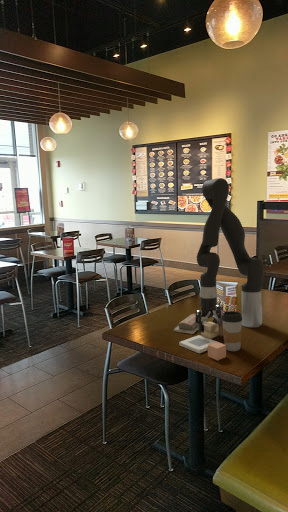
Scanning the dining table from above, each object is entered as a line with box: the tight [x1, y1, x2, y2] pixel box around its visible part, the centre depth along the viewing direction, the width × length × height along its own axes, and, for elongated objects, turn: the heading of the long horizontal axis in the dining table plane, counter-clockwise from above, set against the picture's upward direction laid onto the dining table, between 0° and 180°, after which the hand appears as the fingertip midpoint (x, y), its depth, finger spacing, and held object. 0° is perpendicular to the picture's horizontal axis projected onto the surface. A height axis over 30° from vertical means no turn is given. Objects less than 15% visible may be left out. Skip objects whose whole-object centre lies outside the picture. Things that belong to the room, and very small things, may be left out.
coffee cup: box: [221, 310, 243, 352], centre depth 157 cm, size 8×8×15 cm
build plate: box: [178, 334, 218, 354], centre depth 163 cm, size 12×12×2 cm
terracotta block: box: [207, 341, 227, 361], centre depth 150 cm, size 5×5×5 cm
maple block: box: [200, 321, 219, 340], centre depth 173 cm, size 6×6×6 cm
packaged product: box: [173, 313, 208, 335], centre depth 186 cm, size 18×5×10 cm
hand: (208, 330), depth 173 cm, fingers open, 8 cm apart
